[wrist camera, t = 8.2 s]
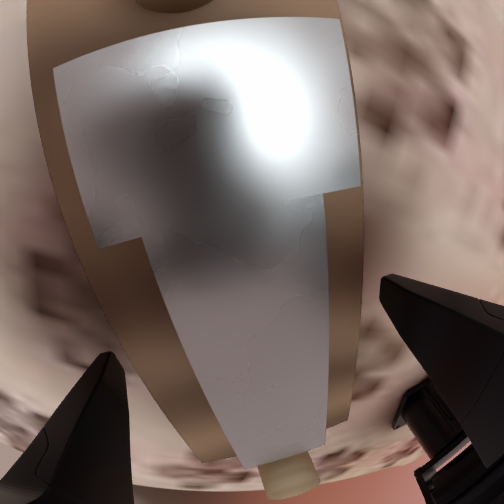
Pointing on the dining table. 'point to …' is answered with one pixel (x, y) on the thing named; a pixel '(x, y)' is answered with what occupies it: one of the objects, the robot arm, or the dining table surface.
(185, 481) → the dining table surface
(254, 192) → the grey stepped block
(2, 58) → the dining table surface
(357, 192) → the peg rack
